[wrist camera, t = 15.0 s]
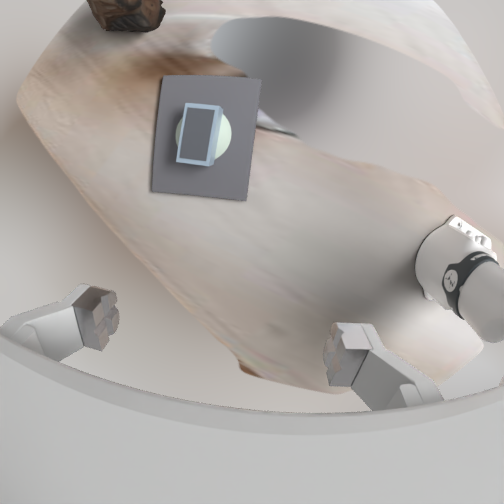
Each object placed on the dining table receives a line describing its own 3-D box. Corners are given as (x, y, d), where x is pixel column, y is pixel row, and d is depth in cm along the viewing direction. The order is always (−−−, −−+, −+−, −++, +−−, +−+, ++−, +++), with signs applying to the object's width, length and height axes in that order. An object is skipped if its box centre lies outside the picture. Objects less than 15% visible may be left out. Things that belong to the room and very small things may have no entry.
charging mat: (261, 81, 38) (261, 79, 36) (246, 199, 45) (246, 201, 44) (165, 77, 38) (163, 75, 36) (154, 190, 45) (151, 191, 44)
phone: (223, 109, 39) (219, 105, 35) (213, 164, 42) (208, 166, 38) (192, 106, 38) (185, 102, 35) (183, 160, 42) (175, 162, 38)
